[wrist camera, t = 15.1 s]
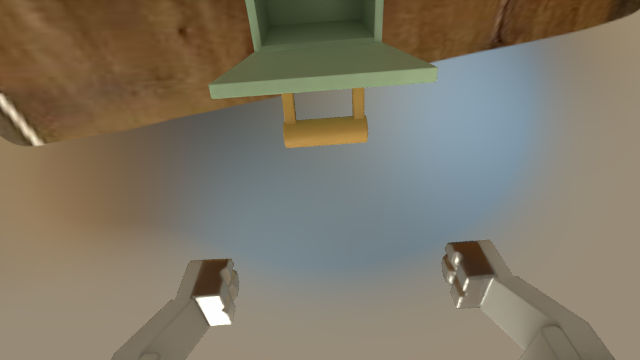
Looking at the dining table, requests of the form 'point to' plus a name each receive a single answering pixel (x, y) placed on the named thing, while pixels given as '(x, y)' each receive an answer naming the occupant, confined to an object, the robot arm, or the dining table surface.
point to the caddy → (313, 23)
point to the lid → (322, 84)
